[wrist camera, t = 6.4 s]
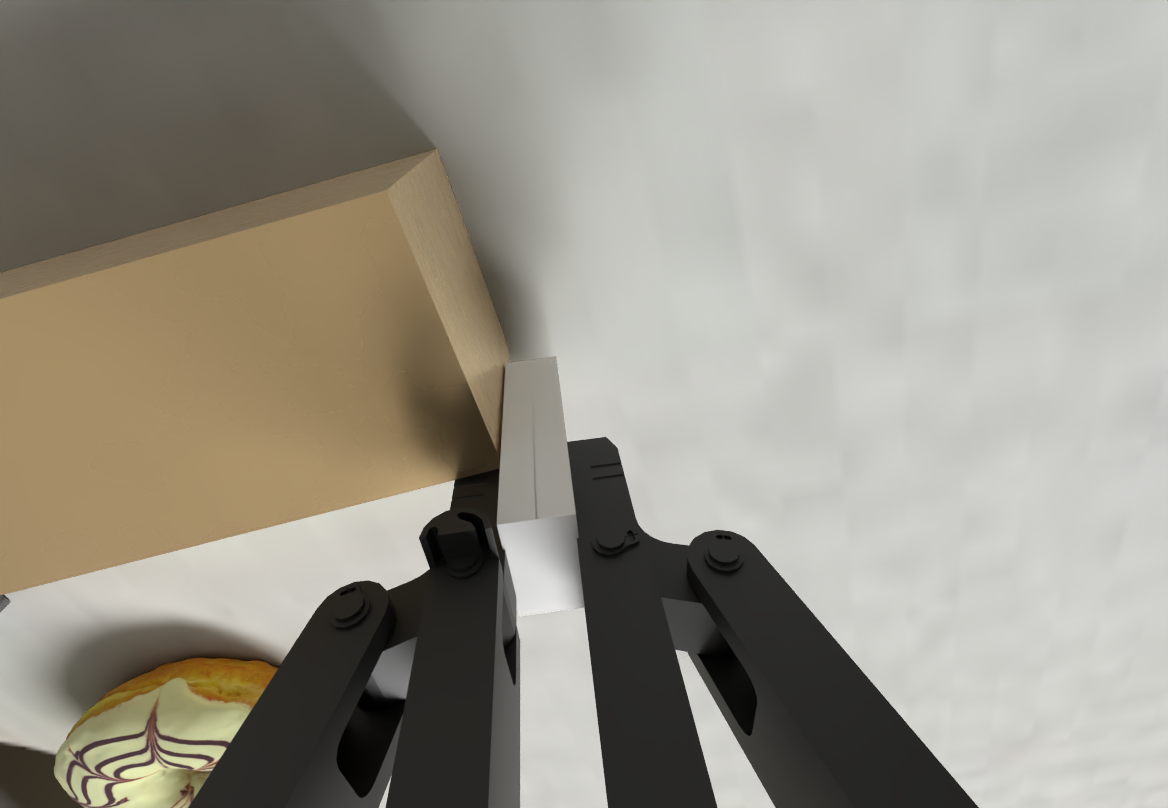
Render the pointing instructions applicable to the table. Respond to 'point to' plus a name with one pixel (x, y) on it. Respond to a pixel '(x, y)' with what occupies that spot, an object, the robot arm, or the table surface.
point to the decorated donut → (159, 733)
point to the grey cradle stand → (3, 602)
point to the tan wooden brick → (244, 372)
